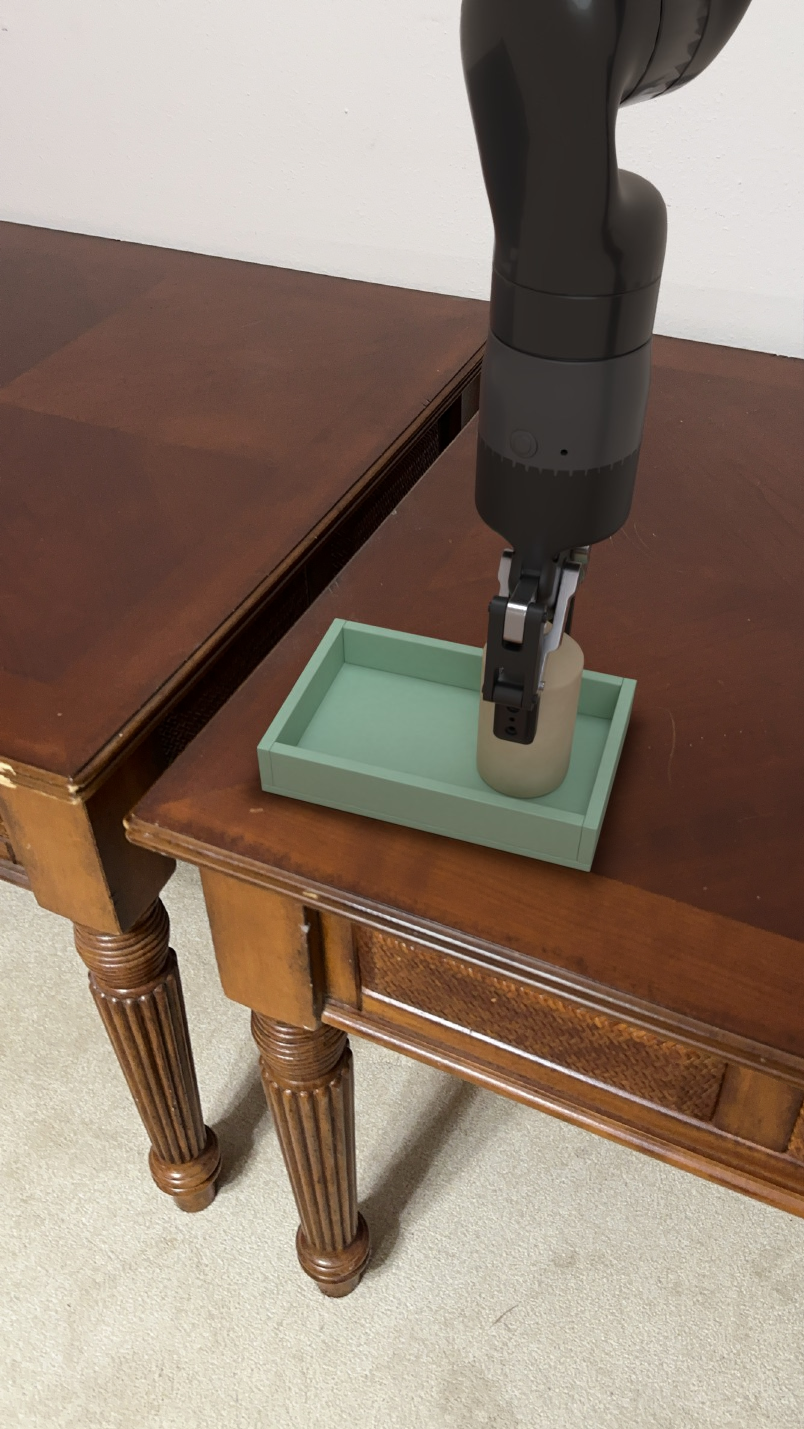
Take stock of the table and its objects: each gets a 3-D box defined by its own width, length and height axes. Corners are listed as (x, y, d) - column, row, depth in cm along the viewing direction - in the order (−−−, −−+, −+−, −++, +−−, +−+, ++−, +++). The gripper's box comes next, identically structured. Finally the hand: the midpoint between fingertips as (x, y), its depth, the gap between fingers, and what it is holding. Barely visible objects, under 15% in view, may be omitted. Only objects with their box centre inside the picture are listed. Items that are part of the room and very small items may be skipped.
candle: (572, 799, 64) (592, 668, 57) (477, 799, 64) (486, 668, 57) (563, 733, 68) (581, 603, 61) (474, 733, 68) (481, 603, 61)
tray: (628, 722, 69) (637, 679, 67) (589, 872, 60) (597, 829, 58) (337, 659, 74) (335, 617, 71) (261, 790, 65) (256, 747, 63)
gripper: (613, 517, 45) (572, 791, 56) (666, 366, 54) (622, 624, 65) (436, 487, 46) (430, 758, 57) (518, 346, 56) (500, 601, 67)
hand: (532, 687), depth 61 cm, fingers open, 8 cm apart
